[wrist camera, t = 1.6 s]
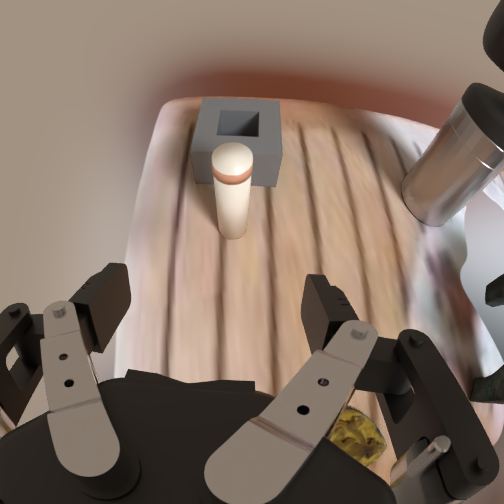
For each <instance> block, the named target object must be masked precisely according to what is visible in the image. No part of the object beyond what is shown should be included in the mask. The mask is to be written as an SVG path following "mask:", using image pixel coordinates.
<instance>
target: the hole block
mask: <svg viewBox="0 0 504 504" xmlns="http://www.w3.org/2000/svg"><path fill="white" fill-rule="evenodd" d="M229 142H236V143H241V144H243V145H245V146H247V147H248V148H249V149H250V150H251V152H252V154H253V169H252V174H251V185H252V186H268V187H276V184H277V179H278V174H279V170H280V165H281V160H282V156H283V154H282V135H281V118H280V102H279V101H269V100H255V99H233V98H203V100H202V104H201V107H200V111H199V115H198V119H197V123H196V127H195V131H194V136H193V140H192V144H191V149H190V155H191V160H192V166H193V171H194V177H195V182H196V183H201V184H214V178H213V172H212V163H211V159H212V153H213V151H214V150H215V149H216V148H217V147H218V146H220V145H222V144H224V143H229Z"/></svg>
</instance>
